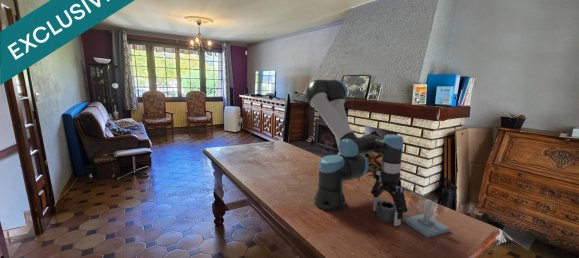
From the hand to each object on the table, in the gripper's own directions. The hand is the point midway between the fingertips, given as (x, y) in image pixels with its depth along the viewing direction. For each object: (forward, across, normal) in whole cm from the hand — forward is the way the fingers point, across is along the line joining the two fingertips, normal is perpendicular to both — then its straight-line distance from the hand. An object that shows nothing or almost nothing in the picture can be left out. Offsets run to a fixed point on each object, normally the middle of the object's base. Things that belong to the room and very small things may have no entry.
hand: (386, 217), depth 110 cm
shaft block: (0, -11, -11) cm, 15 cm away
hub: (0, 0, 0) cm, 0 cm away
